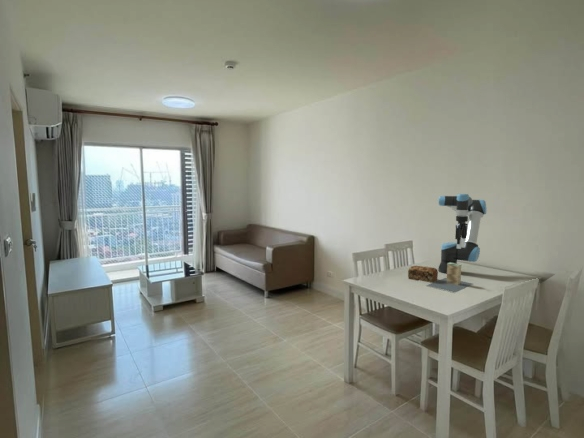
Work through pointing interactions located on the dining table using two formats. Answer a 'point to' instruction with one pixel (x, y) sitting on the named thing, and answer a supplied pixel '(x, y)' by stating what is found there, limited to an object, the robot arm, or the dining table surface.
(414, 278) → the bread
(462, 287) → the mat
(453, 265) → the slab
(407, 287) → the dining table surface
